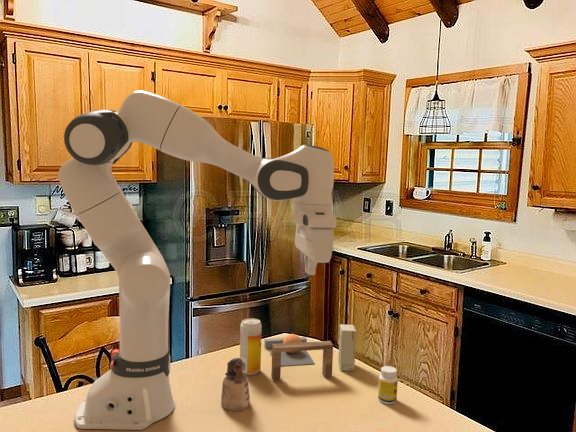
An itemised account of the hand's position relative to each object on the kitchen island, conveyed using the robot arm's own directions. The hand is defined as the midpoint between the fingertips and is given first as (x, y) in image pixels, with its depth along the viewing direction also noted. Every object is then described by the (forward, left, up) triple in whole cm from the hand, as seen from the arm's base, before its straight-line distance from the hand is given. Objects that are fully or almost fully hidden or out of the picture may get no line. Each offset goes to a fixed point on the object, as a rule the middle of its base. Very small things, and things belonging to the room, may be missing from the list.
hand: (310, 273), depth 111 cm
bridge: (+4, +18, -35) cm, 39 cm away
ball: (+5, +36, -32) cm, 48 cm away
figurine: (-16, +6, -35) cm, 39 cm away
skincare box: (+19, +23, -35) cm, 46 cm away
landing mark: (+4, +32, -35) cm, 47 cm away
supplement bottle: (+23, +2, -35) cm, 41 cm away
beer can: (-10, +24, -35) cm, 44 cm away
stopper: (+4, +41, -35) cm, 54 cm away
